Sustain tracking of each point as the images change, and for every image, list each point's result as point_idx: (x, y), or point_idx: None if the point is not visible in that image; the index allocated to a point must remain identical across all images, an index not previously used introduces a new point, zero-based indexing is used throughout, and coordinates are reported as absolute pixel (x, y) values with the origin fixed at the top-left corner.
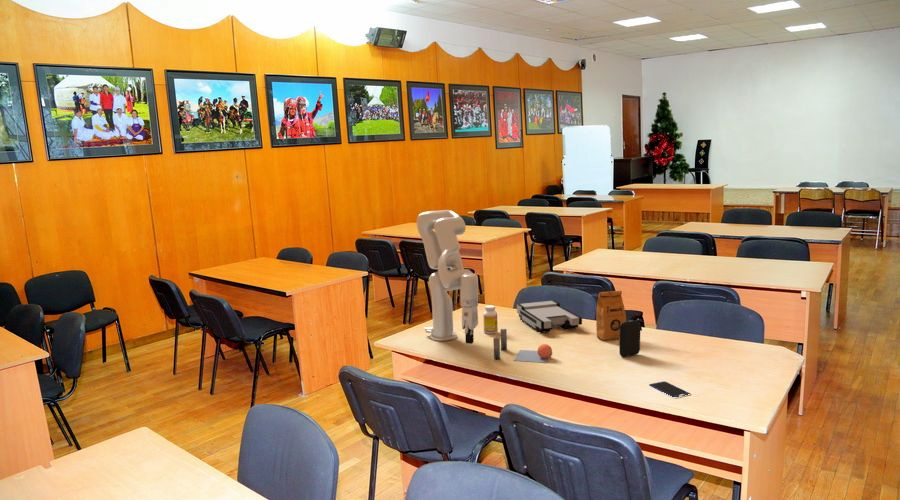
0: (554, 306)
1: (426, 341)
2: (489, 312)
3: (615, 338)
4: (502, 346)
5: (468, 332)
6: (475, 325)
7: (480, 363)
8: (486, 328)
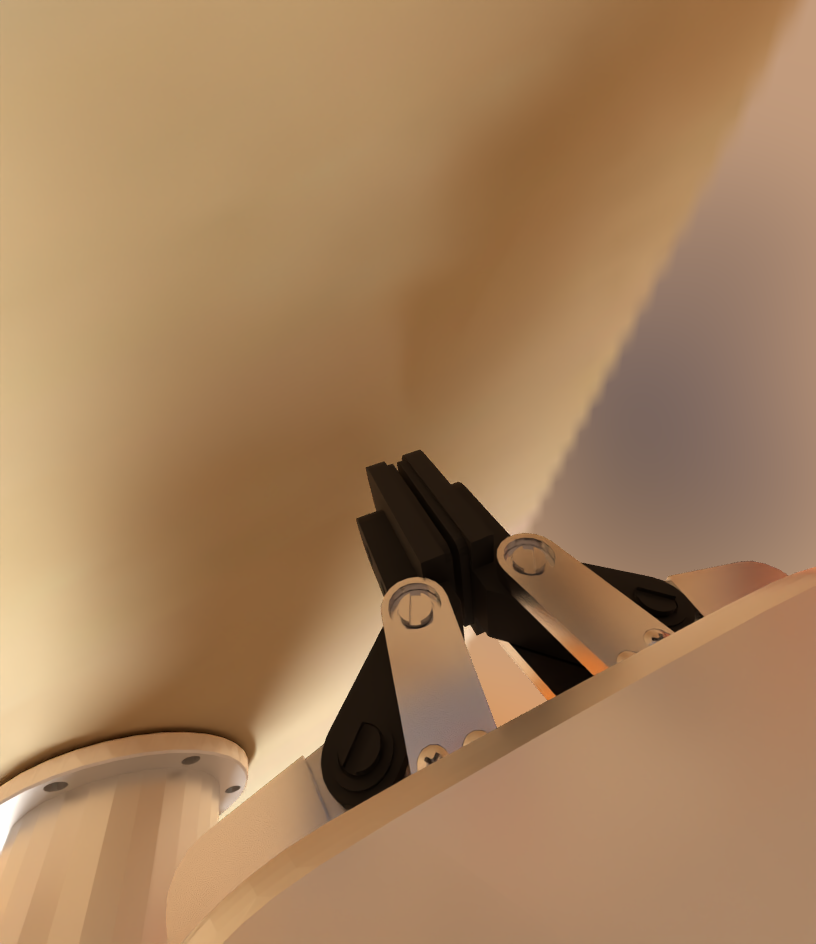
0: None
1: (292, 761)
2: None
3: None
4: None
5: (687, 585)
6: (735, 765)
7: (726, 95)
8: None
